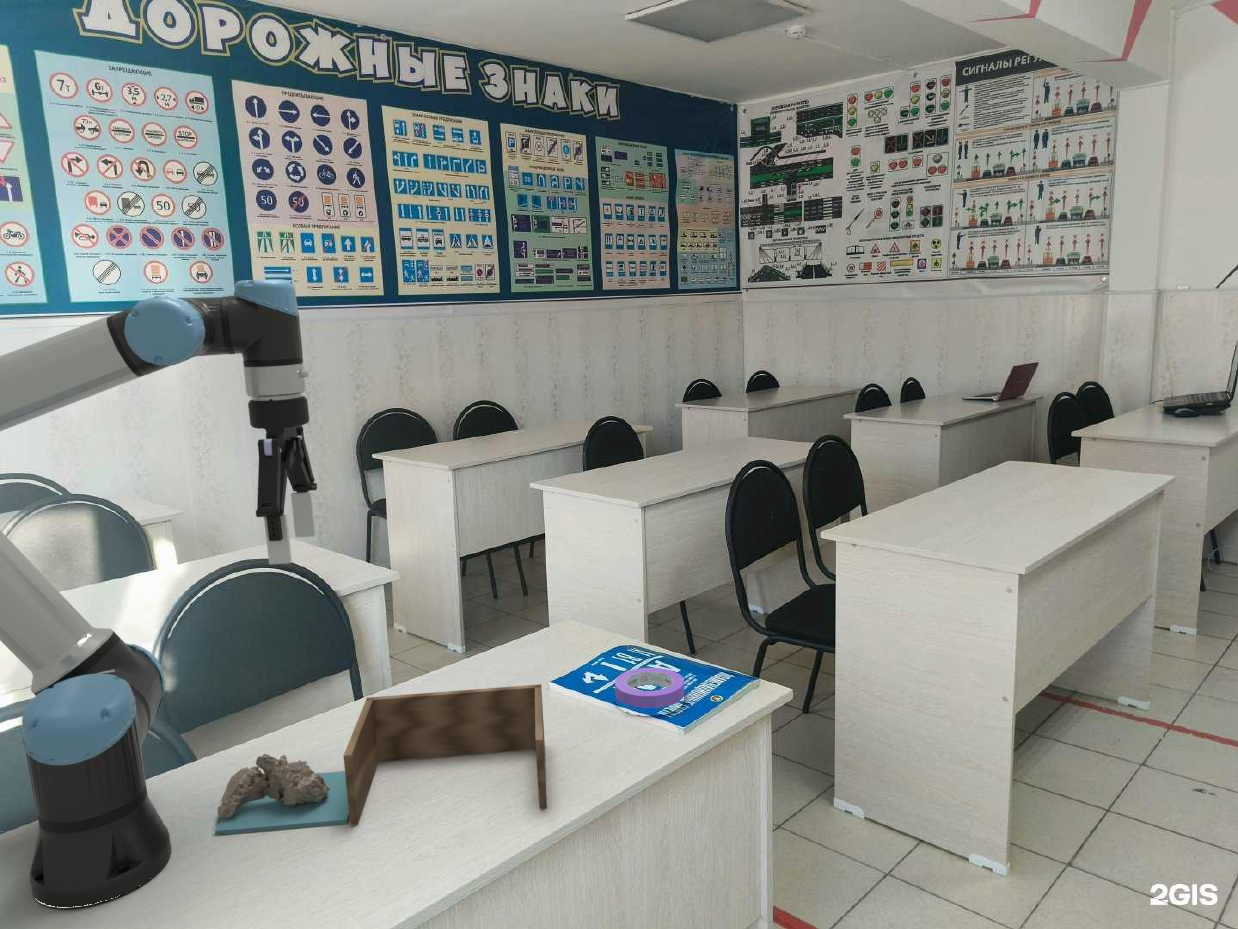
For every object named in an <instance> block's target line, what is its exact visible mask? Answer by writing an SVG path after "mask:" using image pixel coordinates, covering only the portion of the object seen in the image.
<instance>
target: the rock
mask: <svg viewBox="0 0 1238 929" xmlns="http://www.w3.org/2000/svg"><path fill="white" fill-rule="evenodd" d="M260 769H261V770H262V771H261V770H260ZM316 773H317V772H314V770H312V769H311V767H310V765H309V764H308V763H307V761H302V760H301V759H299V760H298V761H293V762H289V763H288V759H287V756H286V754H282V755H281V756H280V758H279V759H278V758H276V757H275V756H270V754H266V753H263V754H262V755H261V756H260V755H259V756H257V758H256V761H255V765H254V766H252V767H247V766H246V767H244V768H241V769H239V770H238V771H237V772H236V773H234V774H233V775H231V778H230V779H229V780H228V782H227V784H226V787H225V790H224V792H223V795H222V797H221V800H220V801H221V803H220V805H219V806H217V816H218V817H219V818H221V819H222V818H223V817H224V818H228V817H231V816H232V815H233V814H234V812H235V811H236V810H237V809H238V808H239V807H240V806H242V805H243V804H245V803H248V802H250V801H255V800H260V799H263V798H264V797H265V796H268V797H270V799H272V798H273V799H275V800H276V801H277V802H278V801H279V800H281V799H282V798H283V799H284V804H286V805H287V806H289V807H294V805H295V804H296V803H304V801H307V802H308V803H309V802H320V803H321V802H322V800H323V798H324V797H325V796H326V795H328V793H327V792H328V790H330V788H329V786H327V784H325V782H324V777H320V776H319V774H316Z"/></svg>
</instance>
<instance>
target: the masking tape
mask: <svg viewBox="0 0 1238 929" xmlns="http://www.w3.org/2000/svg"><path fill="white" fill-rule="evenodd" d="M644 685H655V686H661V687H666V688H664V689H660V690H655V691H643V690H637V689H634V688H633V687H638V686H644ZM614 691H615V693H614V694H615V695H614V696H616V698H615V700H616V699H618V700H619V701H620V702H622V703H624V704H625V705H631V706H634V707H641V708H660V707H665V706H668V705H673V704H675V703H677V702H679V701H680V700H681V699H682V698H683V697H684V698H685V679H684V677H683V676H682V675H681V674H679V672H676V671H674V670H671V669H667V668H661V667H641V668H636V669H630V670H628V671H625V672H622V673H621V674H620V675H618V676H617V677H616V679H615V681H614Z"/></svg>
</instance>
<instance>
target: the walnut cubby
mask: <svg viewBox="0 0 1238 929" xmlns="http://www.w3.org/2000/svg"><path fill="white" fill-rule="evenodd" d="M542 688H543V687H542V684H539V683H538V684H531V685H516V686H515V685H514V686H501V687H489V688H475V689H461V690H449V691H436V692H434V691H433V692H424V693H409V694H397V695H396V694H395V695H382V696H372V697H371V696H370V697H366V698H365V701H364V704H363V707H362V709H361V712H360V714H359V716H358V719H357V720H356V723H355V727H354V729H353V730H352V733H351V736H350V739H349V741H348V744H347V746H346V748H345V750H344V752H343V753H344V754H343V756H342V757H343V765H344V771H345V777H346V787H347V797H348V806H349V816H350V817H349V826H359V823H360V820H361V817H362V814H363V811H364V807H365V805H366V803H367V798H368V795H369V793H370V789H371V786H372V783H373V780H374V776H375V775H376V774H375V773H376V771H377V768H378V765H379V763H381V762H382V763H383V762H396V761H406V760H418V759H419V760H420V759H421V760H422V759H430V758H431V759H432V758H442V757H443V758H444V757H456V756H466V755H477V754H479V755H481V754H489V753H490V754H492V753H502V752H503V753H504V752H515V751H527V750H528V751H529V750H535V752H536V753H535V754H536V771H537V772H536V774H537V788H538V801H539V803H538V804H539V805H538V806H539V809H541V810H542V809H548V802H547V801H548V800H547V798H548V796H547V772H546V770H547V768H546V742H545V741H546V740H545V726H544V724H545V723H544V707H543V691H542V690H543V689H542Z"/></svg>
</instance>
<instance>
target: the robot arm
mask: <svg viewBox="0 0 1238 929" xmlns="http://www.w3.org/2000/svg"><path fill="white" fill-rule="evenodd" d="M298 307H299V306H298V300H297V295H296V287H295V286H294V284H292V283H291V282H290V281H288V280H286V279H283V278H282V279H278V278H277V279H274V278H273V279H251V280H249V279H248V280H247V279H246V280H239V281H236V282H235V284H234V291H233V295H227V296H219V297H218V296H216V297H215V296H214V297H213V296H211V297H205V296H204V297H203V296H201V297H175V296H171V295H156V296H153V297H149V298H147V299H142V300H140V301H138V302H137V303H136V304H135V306H133V307H130V308H127V309H124V310H121V311H118V312H117V313H115V314H113V315H110V316H104V317H103V318H100V319H97V320H94V321H91V322H89V323H86V324H83V325H81V326H78V327H74V328H73V329H71V330H67V331H65V332H62V333H59V334H56V335H53V336H51V337H48V338H45V339H43V340H41V341H38V342H35V343H32V344H29V345H26V346H24V347H21V348H18V349H16V350H12V351H10V352H7V353H5V354H2V355H0V432H3V431H4V430H7V429H10V428H13V427H15V426H19V425H21V424H23V423H25V422H28V421H30V420H34V419H36V418H39V417H41V416H43V415H46V414H49V413H51V412H55V411H56V410H58V409H62V408H64V407H67V406H69V405H72V404H75V403H76V402H80V401H81V400H85V399H87V398H90V397H92V396H95V395H97V394H100V393H103V392H105V391H108V390H111V389H113V388H115V387H118V386H121V385H124V384H126V383H129V382H131V381H133V380H134V381H135V380H136V379H139V378H141V377H144V376H148V375H150V374H153V373H155V372H158V371H160V370H163V369H166V368H169V367H170V366H171V367H172V366H175V365H178V364H181V363H184V362H186V361H188V360H190V359H192V358H194V357H204V356H205V357H206V356H207V357H208V356H209V357H210V356H222V355H239V354H240V355H242V358H243V361H242V362H243V363H242V364H243V374H244V382H245V384H244V385H245V391H246V392H245V394H246V395H247V396H248V397H250V398H251V399H250V400H249V402H248V403H247V406H248V416H249V424H250V426H251V427H252V428H254V429H258V430H260V429H261V430H262V429H263V430H264V431H265V438H261V439H258V440H257V450H258V471H257V472H258V475H257V503H256V506H257V508H256V510H255V516H256V517H257V518H263V522H264V531H265V539H266V546H267V556H268V565H281V564H282V565H283V564H284V565H286V564H291V563H292V562H293V559H292V557H293V556H292V551H291V549H292V548H291V542H290V541H291V540H290V532H289V531H290V530H289V523H288V515H287V513H285V502H286V493H287V483H288V482H289V484H290V487H291V488H292V491H293V492H291V494H290V497H291V506H292V507H291V508H292V515H293V524H294V525H293V526H294V537H295V538H310V537H311V538H312V537H316V536H317V535H316V534H317V533H316V524H315V522H316V521H315V516H314V515H315V514H314V504H313V503H314V502H313V496H312V495H313V494H312V491H317V490H318V484H317V482H315V477H314V473H313V469H312V465H311V461H310V456H309V453H308V448H307V445H306V440H305V434H304V427H303V426H304V425H306V424H308V423H309V422H310V414H309V412H310V411H309V402H308V398H306V396H304V395H302V394H303V393H305V392H306V390H307V387H306V379H305V378H308V377H309V376H310V375H309V371H308V370H305V369H304V357H303V355H304V354H303V346H302V334H301V324H300V322H301V321H300V313H299V308H298ZM0 642H1V643H2V644H3V646H5V647H6V648H7V649H8V650H9V651H10V652H11V653H12V654H13V655H14V656H15V657H16V658H17V659H18V660H19V661H20V662H21V663H22V664H23V665H24V666H25V667H26V669H28V670H29V671H30V673H31V675H32V679H31V686H30V691H31V693H32V694H33V695H34V697H33V698H32V699H30V701H29V702H28V704H27V705H26V706H25V709H24V711H23V713H22V716H21V717H22V718H21V724H22V727H21V728H22V730H21V738H22V739H21V741H22V742H21V743H22V746H23V748H24V750H25V755H26V761H27V766H28V771H29V772H28V773H29V777H30V784H31V788H32V794H33V800H34V806H35V811H36V817H37V820H38V833H37V834H38V835H37V837H36V844H35V849H34V853H33V857H32V862H31V867H30V871H29V881H30V886H31V887H30V888H31V893H33V894H32V897H33V896H34V897H35V898H36V899H37V900H38V901H40V902H42V903H45V904H46V905H51V906H55V907H57V906H58V907H73V906H74V907H75V906H84V905H87V904H88V905H89V904H95V903H97V902H100V901H105V900H109V901H111V900H110V899H111V898H115V897H117V896H119V895H122V896H124V895H126V894H128V893H130V892H132V891H134V890H136V889H137V888H136V887H138V886H139V885H141V884H143V883H144V884H146V883H147V882H149V881H150V880H151V879H152V878H151V877H153V878H154V877H156V875H157V874H156V873H158V872H159V871H160V870H161V869H162V870H163V868H164V867H165V866H166V865H167V863H168V862H169V860H170V858H171V856H172V844H171V843H172V842H171V837H170V836H171V835H170V832H169V828H167V826H166V825H165V823H164V821H163V820H162V817H161V815H160V814H159V813H158V811H157V809H156V808H155V806H154V804H153V803H152V801H151V799H150V798H149V795H148V789H147V782H146V774H145V768H144V760H143V754H142V747H143V746H142V745H143V743H144V742H145V739H146V736H147V735H148V733H149V731H150V729H151V727H152V726H151V725H152V724H153V722H154V719H155V717H156V716H157V715H158V713H159V712H160V709H161V707H162V705H163V701H164V695H165V688H166V678H165V673H164V670H163V667H162V665H161V663H160V662H159V660H158V659H157V658H156V656H155V655H154V654H153V653H152V652H150V651H149V650H148V649H146V648H144V647H142V646H140V645H138V644H133V643H126V642H125V641H124V640H123V639H122V638H121V637H120V636H119V635H118V634H117V632H115V631H114V630H113V629H111V628H102V627H101V628H100V627H94V626H92V625H91V624H90V623H89V622H88V621H87V620H86V619H85V618H84V617H83V616H82V615H81V613H80V612H78V610H77V609H76V608H75V607H74V606H73V604H71V603H70V602H69V601H68V599H66V598H65V596H63V595H62V593H60V591H59V590H57V588H56V587H55V586H54V585H53V584H52V583H51V582H50V581H49V579H47V578H46V577H45V575H44V574H43V573H41V572H40V570H39V569H38V568H37V567H36V566H35V565H34V564H33V563H32V562H31V561H30V560H29V559H28V557H27V556H25V555H24V553H23V552H21V550H19V548H18V547H17V546H16V545H15V544H14V543H13V542H12V541H11V540H10V539H9V538H8V537H7V535H6V534H5V533H3V531H2V530H1V529H0ZM170 855H171V856H170ZM162 870H161V871H162ZM161 871H160V872H161ZM160 872H159V873H160ZM159 873H158V874H159ZM150 878H151V879H150ZM149 879H150V880H149ZM148 880H149V881H148ZM145 882H146V883H145ZM144 884H143V885H144ZM141 886H142V885H141ZM138 888H139V887H138ZM133 889H134V890H133ZM131 890H132V891H131ZM129 891H130V892H129ZM127 892H128V893H127ZM123 894H124V895H123ZM34 897H33V898H34ZM117 898H118V897H117ZM115 899H116V898H115Z"/></svg>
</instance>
